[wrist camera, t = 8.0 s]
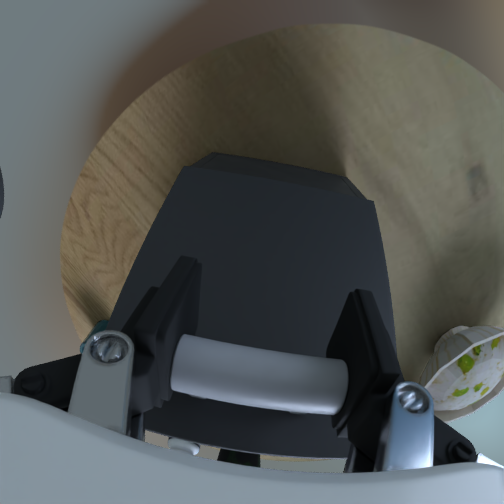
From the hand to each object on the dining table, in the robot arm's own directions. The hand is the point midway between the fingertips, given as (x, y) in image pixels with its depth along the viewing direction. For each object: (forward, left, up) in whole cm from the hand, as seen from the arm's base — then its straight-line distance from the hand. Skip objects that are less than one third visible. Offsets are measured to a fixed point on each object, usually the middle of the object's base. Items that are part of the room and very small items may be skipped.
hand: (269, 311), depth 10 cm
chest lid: (+1, -2, -5) cm, 5 cm away
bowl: (+35, +8, -21) cm, 42 cm away
